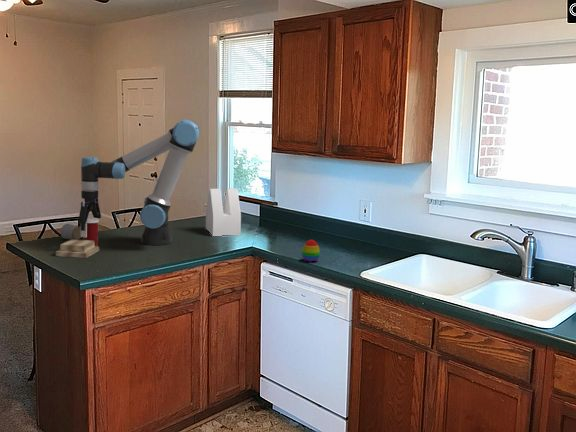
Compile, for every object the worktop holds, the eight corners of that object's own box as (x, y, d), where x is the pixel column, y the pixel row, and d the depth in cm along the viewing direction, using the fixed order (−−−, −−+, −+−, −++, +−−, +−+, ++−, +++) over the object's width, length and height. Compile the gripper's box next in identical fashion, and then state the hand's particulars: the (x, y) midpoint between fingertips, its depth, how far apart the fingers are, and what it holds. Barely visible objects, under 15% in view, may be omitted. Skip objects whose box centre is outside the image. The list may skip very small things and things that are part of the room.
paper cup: (103, 247, 269) (102, 218, 267) (91, 250, 263) (90, 220, 260) (90, 245, 273) (90, 216, 270) (78, 248, 266) (78, 219, 263)
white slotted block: (240, 236, 308) (241, 190, 304) (212, 236, 303) (213, 191, 299) (231, 229, 326) (232, 186, 322) (205, 229, 321) (206, 186, 316)
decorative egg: (321, 263, 257) (322, 241, 255) (304, 263, 255) (305, 241, 253) (316, 258, 265) (317, 237, 263) (299, 258, 263) (300, 237, 261)
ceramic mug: (72, 241, 278) (72, 226, 276) (60, 239, 281) (60, 224, 280) (88, 238, 287) (88, 223, 286) (75, 236, 290) (75, 221, 289)
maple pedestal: (99, 250, 262) (98, 240, 261) (86, 257, 249) (86, 246, 248) (70, 248, 263) (69, 238, 262) (55, 256, 249) (55, 245, 249)
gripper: (93, 186, 275) (93, 228, 279) (70, 192, 251) (70, 239, 254) (107, 187, 275) (107, 229, 278) (86, 193, 250) (86, 240, 254)
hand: (89, 234), depth 266 cm, fingers open, 13 cm apart
